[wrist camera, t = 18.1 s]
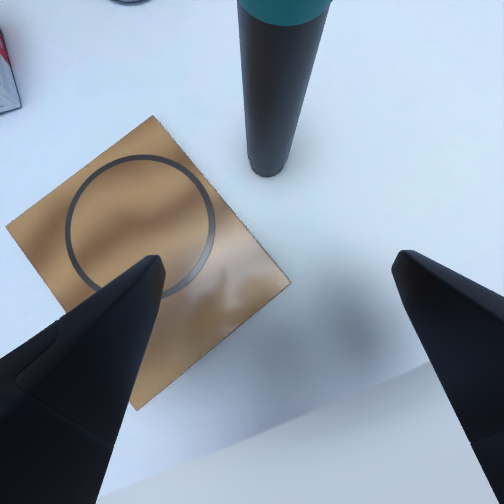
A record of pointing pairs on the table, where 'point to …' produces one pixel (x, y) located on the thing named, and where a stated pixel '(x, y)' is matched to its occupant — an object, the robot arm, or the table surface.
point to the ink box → (7, 83)
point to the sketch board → (151, 248)
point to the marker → (276, 72)
